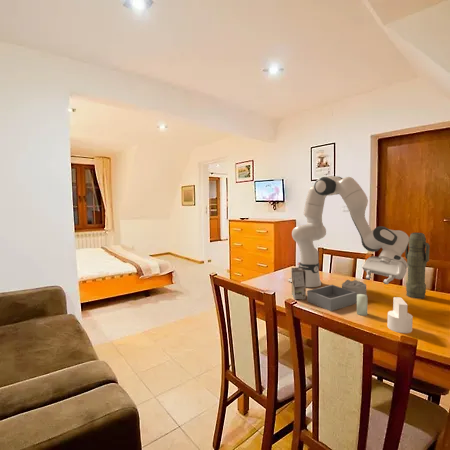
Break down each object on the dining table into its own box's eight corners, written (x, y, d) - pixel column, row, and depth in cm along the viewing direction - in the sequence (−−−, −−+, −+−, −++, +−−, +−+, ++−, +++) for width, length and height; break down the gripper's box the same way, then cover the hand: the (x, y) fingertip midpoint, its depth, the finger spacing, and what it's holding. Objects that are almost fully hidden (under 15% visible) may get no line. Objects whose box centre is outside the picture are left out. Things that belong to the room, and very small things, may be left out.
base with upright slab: (385, 322, 128) (385, 296, 127) (408, 324, 125) (408, 297, 124) (390, 331, 119) (391, 303, 118) (415, 334, 117) (416, 305, 116)
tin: (354, 313, 139) (354, 295, 138) (360, 311, 141) (361, 293, 140) (363, 316, 135) (363, 297, 134) (369, 314, 137) (369, 296, 136)
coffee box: (306, 299, 159) (306, 271, 158) (294, 299, 160) (294, 271, 158) (302, 294, 168) (302, 267, 167) (291, 294, 169) (290, 267, 167)
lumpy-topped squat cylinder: (369, 297, 159) (369, 282, 158) (351, 301, 154) (351, 286, 153) (353, 292, 169) (354, 277, 168) (336, 295, 164) (336, 281, 163)
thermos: (423, 300, 152) (426, 235, 148) (400, 294, 162) (401, 233, 158) (431, 297, 156) (434, 233, 153) (408, 291, 166) (410, 231, 163)
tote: (307, 301, 156) (307, 290, 156) (332, 294, 165) (332, 284, 165) (330, 311, 142) (330, 299, 142) (356, 303, 151) (356, 292, 151)
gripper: (367, 252, 153) (354, 272, 149) (406, 258, 135) (393, 282, 131) (372, 259, 156) (360, 279, 152) (411, 266, 138) (399, 290, 134)
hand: (376, 281), depth 141 cm, fingers open, 8 cm apart
